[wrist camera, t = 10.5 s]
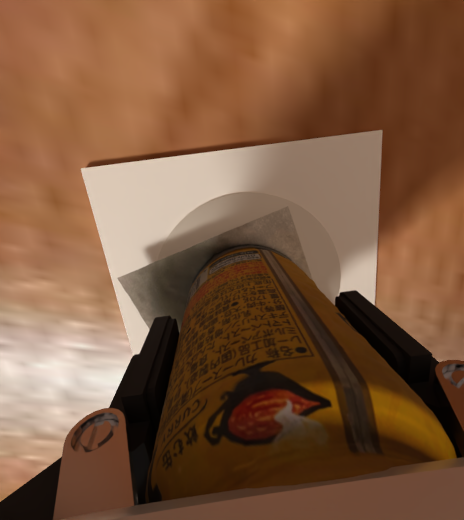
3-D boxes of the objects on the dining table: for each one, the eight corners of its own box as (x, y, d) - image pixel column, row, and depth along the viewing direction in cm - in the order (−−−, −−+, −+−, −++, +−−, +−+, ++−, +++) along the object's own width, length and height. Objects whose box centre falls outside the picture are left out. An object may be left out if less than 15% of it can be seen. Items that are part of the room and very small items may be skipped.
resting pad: (368, 371, 17) (372, 376, 17) (148, 401, 17) (146, 408, 17) (377, 131, 13) (383, 129, 13) (84, 168, 13) (79, 168, 12)
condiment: (330, 333, 15) (759, 913, 3) (185, 389, 15) (90, 1067, 4) (286, 205, 12) (1116, 536, 1) (119, 275, 13) (-623, 1038, 1)
